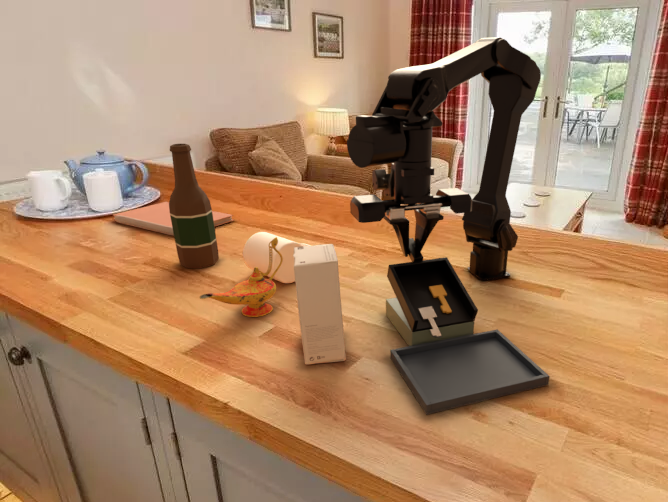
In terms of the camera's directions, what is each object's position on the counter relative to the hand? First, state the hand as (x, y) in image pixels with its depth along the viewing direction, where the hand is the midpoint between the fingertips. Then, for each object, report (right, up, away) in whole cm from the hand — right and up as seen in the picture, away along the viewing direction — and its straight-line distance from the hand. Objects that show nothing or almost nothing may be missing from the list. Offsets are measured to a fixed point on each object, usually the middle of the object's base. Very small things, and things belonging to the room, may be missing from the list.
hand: (411, 255), depth 81 cm
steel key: (+3, -10, -10) cm, 14 cm away
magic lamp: (-27, -10, +1) cm, 29 cm away
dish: (+2, -5, -3) cm, 6 cm away
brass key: (+5, -7, -6) cm, 10 cm away
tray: (+7, -16, -14) cm, 23 cm away
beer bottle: (-44, -1, +22) cm, 49 cm away
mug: (-25, -3, +17) cm, 30 cm away
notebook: (-63, +11, +49) cm, 80 cm away
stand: (+3, -11, -3) cm, 12 cm away
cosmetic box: (-13, -14, -9) cm, 21 cm away
